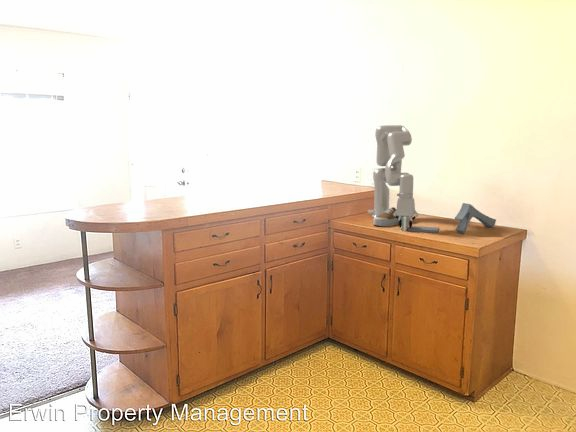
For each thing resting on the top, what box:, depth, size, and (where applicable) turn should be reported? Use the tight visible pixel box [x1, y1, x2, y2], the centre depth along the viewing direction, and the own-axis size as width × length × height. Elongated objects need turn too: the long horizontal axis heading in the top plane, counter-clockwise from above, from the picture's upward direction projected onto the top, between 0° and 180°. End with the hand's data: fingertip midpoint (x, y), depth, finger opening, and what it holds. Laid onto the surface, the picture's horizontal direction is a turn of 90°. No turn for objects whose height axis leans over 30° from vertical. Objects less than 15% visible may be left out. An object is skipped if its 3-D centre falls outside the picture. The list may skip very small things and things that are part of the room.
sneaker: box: [372, 206, 410, 227], centre depth 299 cm, size 10×29×10 cm, turn 125°
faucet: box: [454, 202, 497, 235], centre depth 274 cm, size 6×17×30 cm
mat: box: [407, 225, 439, 234], centre depth 280 cm, size 16×13×1 cm
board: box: [401, 216, 410, 232], centre depth 282 cm, size 2×12×8 cm, turn 159°
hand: (405, 226), depth 282 cm, fingers open, 4 cm apart
